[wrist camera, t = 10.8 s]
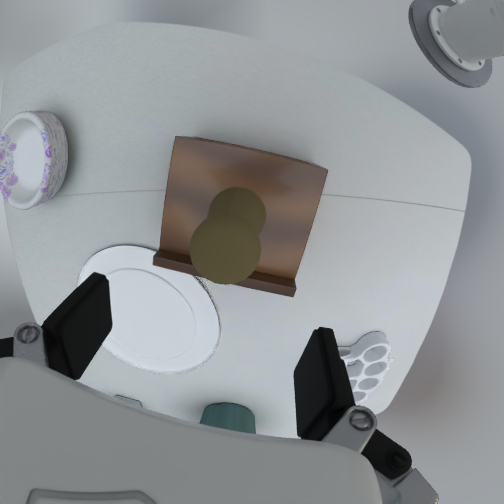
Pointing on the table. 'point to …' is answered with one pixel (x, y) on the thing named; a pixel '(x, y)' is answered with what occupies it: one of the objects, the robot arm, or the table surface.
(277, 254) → the brown wooden box
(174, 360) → the plate
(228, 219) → the olive pawn figure
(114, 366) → the table surface
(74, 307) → the robot arm
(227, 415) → the flower pot
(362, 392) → the knuckle duster
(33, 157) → the paper bowls
